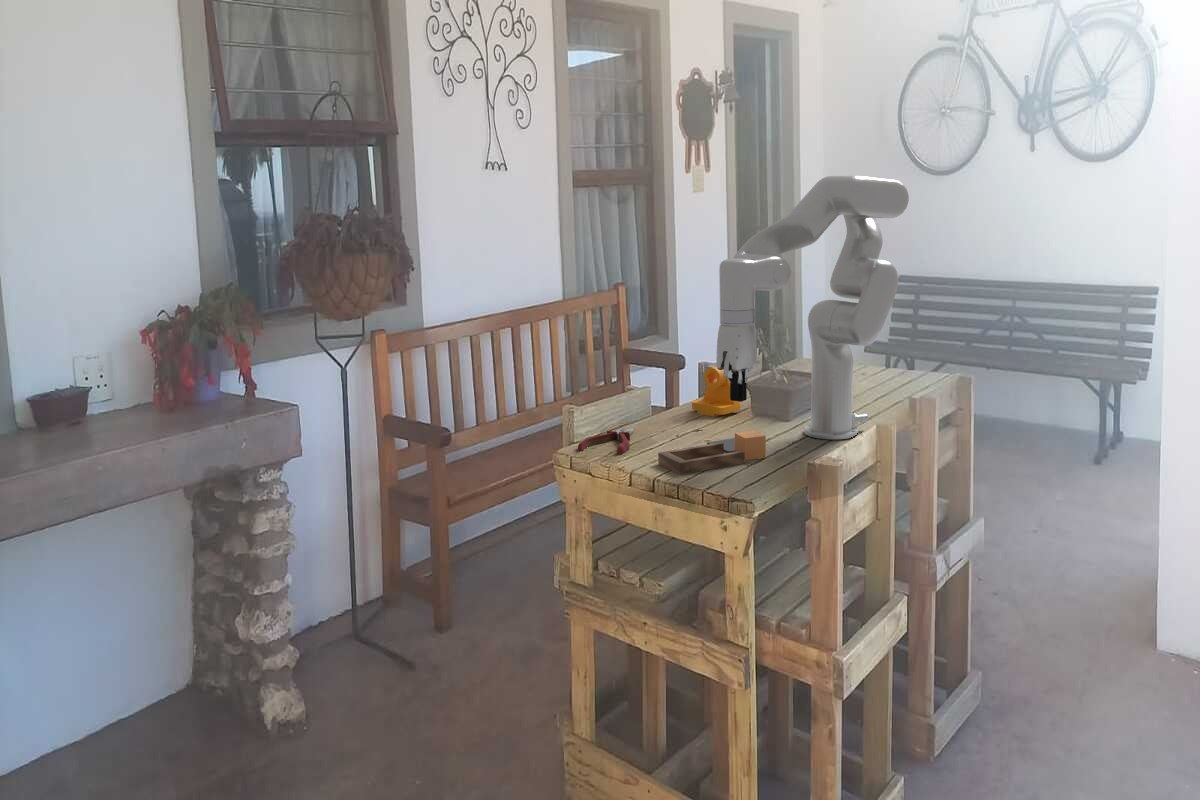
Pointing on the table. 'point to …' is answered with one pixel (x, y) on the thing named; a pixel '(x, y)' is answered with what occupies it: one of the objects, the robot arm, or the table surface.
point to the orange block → (751, 444)
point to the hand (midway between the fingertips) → (738, 400)
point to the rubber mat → (726, 444)
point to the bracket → (716, 395)
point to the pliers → (610, 436)
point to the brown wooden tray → (699, 458)
